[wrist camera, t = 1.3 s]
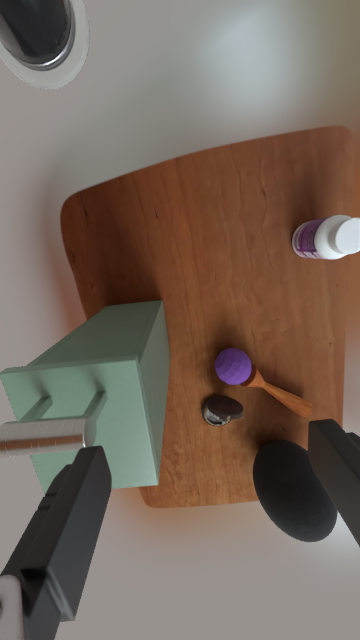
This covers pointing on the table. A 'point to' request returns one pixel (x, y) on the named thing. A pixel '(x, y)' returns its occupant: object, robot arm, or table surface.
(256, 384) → the kendama
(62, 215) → the table surface
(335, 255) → the pill bottle
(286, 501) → the decorative egg
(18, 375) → the bin lid
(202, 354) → the table surface
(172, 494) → the table surface
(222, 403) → the compass
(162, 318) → the trash can
